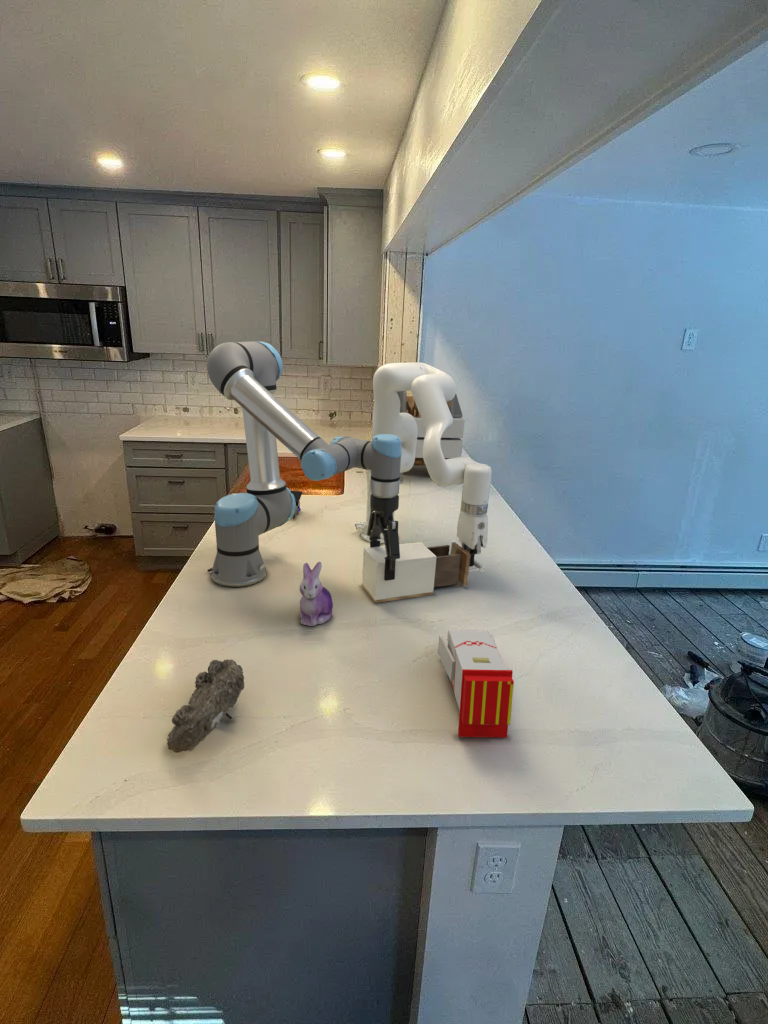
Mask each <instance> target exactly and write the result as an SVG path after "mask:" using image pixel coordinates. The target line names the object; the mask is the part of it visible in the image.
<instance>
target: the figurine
mask: <svg viewBox="0 0 768 1024" xmlns="http://www.w3.org/2000/svg"><path fill="white" fill-rule="evenodd" d="M322 564H323V563H322V561H318V562H317V563H316V564H315V565H314V566H313V568H312V569H311V566H310V565H309V563H307V562H305V563H303V566H302V572H303V577H302V580H301V582H300V585H299V592H300V594H301V598H300V600H299V609H300V613H299V614H300V615H299V618H300V624H302V625H304V626H309V627H314V626H317V625H322V624H324V623H326V622H328V621H329V620H330V619H331V617H332V615H333V609H334V608H333V607H334V603H333V597H332V594H331V592H330V591H329V590H328V589H327V588H326V587H325V586H323V584H322V581H321V579H320V574H321V571H322V566H323V565H322Z"/></svg>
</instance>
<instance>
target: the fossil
mask: <svg viewBox="0 0 768 1024" xmlns="http://www.w3.org/2000/svg"><path fill="white" fill-rule="evenodd" d="M243 670H244V669H243V667H242V665H240V664H237V662H236V661H235V660H234V659H232V658H231V659H227V658H226V659H224V660H223V661H222V660H217V659H212V660H211V661H210V663H209V665H208V666H207V671H201V672H199V673H198V674H197V675H196V676H195V680H194V684H195V685H194V687H195V689H194V690H193V693H192V694H191V697H190V698H189V700H188V704H184V705H182V706H181V707H180V709H177V710H176V711H175V713H174V715H173V716H172V718H171V723H172V724H173V727H172V730H171V731H170V732H168V734H167V738H166V741H167V742H166V745H167V749H168V750H169V751H173V752H174V753H176V754H178V753H182V752H188V751H189V752H192V751H193V750H195V748H196V747H197V746H199V744H200V743H201V742H203V741H204V740H205V739H206V738H207V737H208V736H209V735H210V734H211V733H212V732H214V730H215V729H217V727H218V726H219V724H220V722H221V721H222V720H223V719H224V718H225V716H226V717H227V719H229V720H233V717H232V715H230V714H229V710H230V709H231V708H234V706H235V704H236V703H237V702H238V699H239V697H240V695H241V693H242V691H243V690H245V689H244V688H245V675H244V671H243Z"/></svg>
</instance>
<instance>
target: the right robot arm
mask: <svg viewBox="0 0 768 1024" xmlns="http://www.w3.org/2000/svg"><path fill="white" fill-rule="evenodd" d="M372 377H373V378H372V391H373V392H372V393H373V408H372V409H373V410H372V422H371V423H372V425H371V436H372V437H373V436H375V435H378V434H391V435H395V436H398V437H399V438H400V439H401V453H402V455H401V465H400V473H402V472H403V473H406V472H409V471H410V470H412V468H413V467H414V466H413V465H414V461H415V454H416V444H417V433H418V428H417V423H416V421H415V419H414V417H413V416H412V415H410V414H408V413H400V399H399V396H398V394H397V392H396V391H406V392H409V391H410V392H411V395H412V396H413V398H414V401H415V403H416V406H417V408H418V411H419V414H420V416H421V419H422V421H423V424H424V426H425V429H426V435H425V438H424V442H423V459H424V462H425V465H426V466H425V467H426V470H427V473H428V475H429V477H430V479H431V480H432V482H433V483H434V484H435V485H437V486H438V487H441V488H446V487H451V486H455V485H459V484H462V492H461V500H460V501H461V502H460V508H459V509H460V510H459V515H458V519H457V527H456V537H457V539H458V541H459V542H460V544H461V547H462V548H463V549H465V550H466V551H467V552H468V553H470V554H471V556H470V565H469V568H472V567H474V559H475V557H476V555H481V554H482V548H483V549H484V548H486V547H487V544H488V535H489V534H488V533H489V518H488V515H487V514H488V508H489V499H490V492H491V485H492V484H491V483H492V475H493V470H492V467H491V466H490V465H488V464H485V463H480V462H478V461H475V460H474V459H473V458H470V457H468V456H461V457H457V458H451V459H445V458H444V456H443V453H442V450H441V445H440V441H441V436H442V434H443V432H444V431H445V430H447V429H448V428H449V427H450V426H451V425H452V424H453V417H452V415H451V412H450V410H449V407H448V405H447V402H448V401H450V400H452V399H453V398H454V396H455V394H456V395H457V385H456V382H455V380H454V379H453V377H451V375H449V374H448V373H446V372H445V371H443V370H441V369H439V368H437V367H434V366H432V365H430V364H428V363H425V362H421V361H418V362H417V361H413V362H412V361H411V362H391V363H390V362H389V363H385V364H382V365H381V366H379V367H378V368H377V369H376V371H375V372H374V374H373V376H372ZM365 471H366V480H367V481H366V482H367V483H366V490H367V491H366V519H365V520H366V521H364V522H362V521H355V522H354V527H355V529H356V530H361V534H360V535H361V538H362V539H363V540H364V541H366V542H368V543H370V541H371V540H370V539H369V537H370V536H368V535H367V531H368V525H369V519H370V513H371V507H370V496H371V494H372V493H371V492H370V486H371V470H366V469H365ZM395 512H396V511H394V512H393V519H394V520H395ZM384 530H388V529H384ZM380 537H381V538H380V539H379V541H380V544H385V542H384V536H383V534H382V533H381V534H380ZM377 541H378V540H377Z"/></svg>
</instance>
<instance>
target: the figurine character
mask: <svg viewBox="0 0 768 1024" xmlns="http://www.w3.org/2000/svg"><path fill="white" fill-rule="evenodd" d="M290 491H291V493H292V494H293V495H294V497H295V502H296V508H295V512H294V515H293V516H292V520H295V518H296V516H298V515H299V512H301V511H302V509H301V501H300V500H301V497H302V495H303V491H302V490H301V491H299V490H290Z"/></svg>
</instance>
